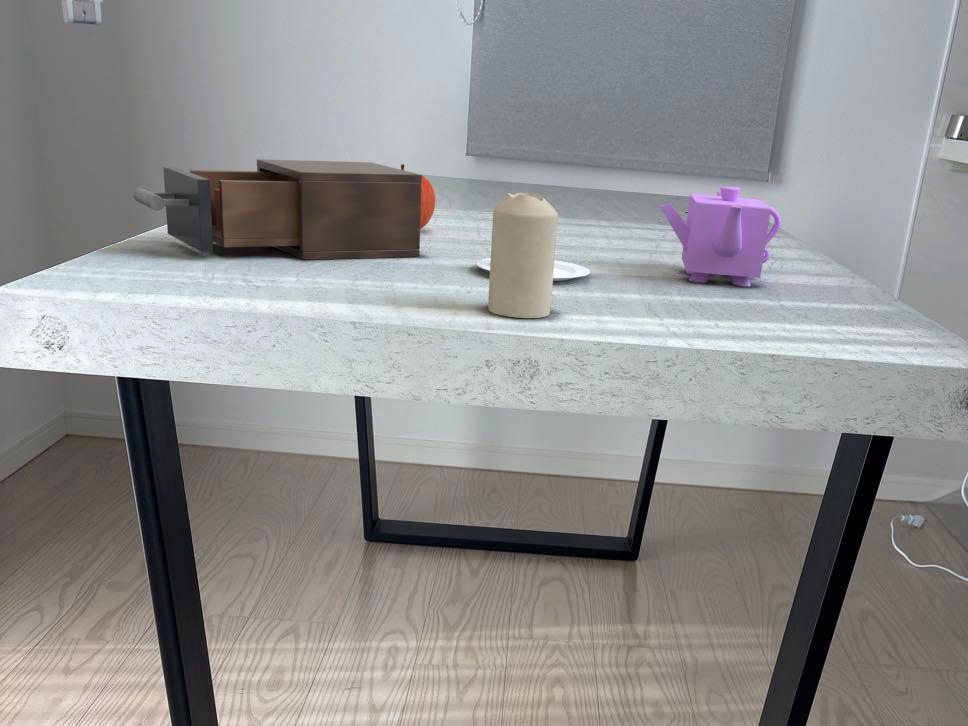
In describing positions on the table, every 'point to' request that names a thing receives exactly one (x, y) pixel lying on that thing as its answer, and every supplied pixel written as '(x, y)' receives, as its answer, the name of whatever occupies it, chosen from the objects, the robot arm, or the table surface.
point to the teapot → (724, 235)
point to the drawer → (228, 207)
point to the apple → (426, 201)
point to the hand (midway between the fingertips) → (83, 23)
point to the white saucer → (560, 269)
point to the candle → (522, 256)
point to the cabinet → (353, 209)
